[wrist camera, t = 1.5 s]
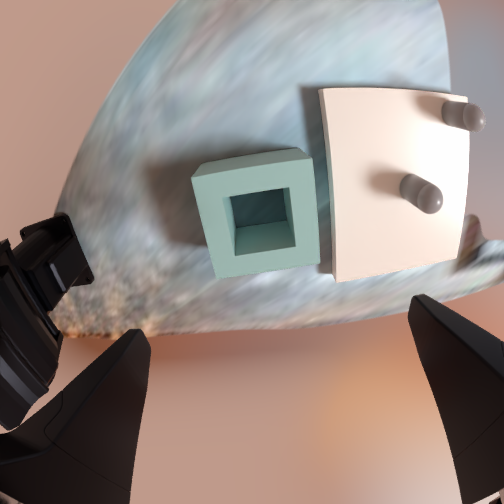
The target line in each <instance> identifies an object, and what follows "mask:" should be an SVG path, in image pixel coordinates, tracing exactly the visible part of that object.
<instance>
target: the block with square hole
mask: <svg viewBox="0 0 504 504" xmlns="http://www.w3.org/2000/svg"><path fill="white" fill-rule="evenodd" d="M191 181H192V185H193V189H194V193H195V197H196V202H197V206H198V210H199V214H200V218H201V222H202V226H203V230H204V234H205V237H206V241H207V245H208V249H209V253H210V257H211V260H212V264H213V268H214V272H215V275H216V279H221V278H228V277H235V276H242V275H249V274H256V273H262V272H269V271H275V270H282V269H288V268H295V267H301V266H307V265H313V264H320V246H319V229H318V215H317V202H316V190H315V179H314V169H313V159H312V158H311V157H310V156H309V155H307V154H306V153H305V152H303V151H302V150H301V149H300V148H293V149H285V150H278V151H270V152H264V153H257V154H251V155H245V156H239V157H233V158H227V159H222V160H217V161H211V162H206V163H202V164H201V165H200V166H199V168H198V169H197V170H196V172H195V173H194V174H193V176H192V177H191ZM280 188H283V194H284V202H285V209H286V218H287V220H286V221H279V222H273V223H266V224H260V225H253V226H247V227H241V228H236V224H235V219H234V214H233V209H232V204H231V199H230V196H235V195H241V194H247V193H254V192H260V191H266V190H273V189H280Z"/></svg>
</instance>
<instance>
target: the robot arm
mask: <svg viewBox="0 0 504 504" xmlns="http://www.w3.org/2000/svg"><path fill="white" fill-rule="evenodd" d="M63 219H64V220H65V222H64V221H63ZM20 235H21V238H22V240H23V241H22V242H21V243H20V244H19V245H18V246H16V247H15V248H14V249H13V250H11V247H10V243H9V240H8V238H7V239H5V240H4V241H1V242H0V425H1V426H3V427H4V428H5V429H6V430H12V429H13V428H15V427H17V426H19V425H20V424H21V422H22V420H23V419H24V417H25V415H26V414H27V412H28V410H29V409H30V408H31V406H32V405H33V404H34V403H35V402H36V401H37V400H38V399H39V398H40V397H42V396H43V395H44V394H46V393H47V392H48V391H49V388H48V387H49V385H50V384H51V382H52V381H53V379H54V377H55V373H56V370H57V368H58V358H59V354H60V350H61V345H62V341H63V337H64V336H63V334H62V333H61V331H60V330H58V329H57V327H56V326H55V324H54V323H53V322H52V320H51V319H50V317H49V313H50V312H51V311H53V309H54V308H55V307H56V305H57V304H58V302H59V301H60V300H61V298H62V297H63V296H64V294H65V293H67V291H68V290H69V289H70V287H73V286H80V285H88V284H91V283H92V282H93V281H94V276H93V274H92V271H91V269H90V267H89V265H88V263H87V260H86V258H85V256H84V253H83V251H82V249H81V246H80V244H79V241H78V239H77V236H76V234H75V231H74V229H73V226H72V223H71V221H70V218H69V216H68V215H67V214H61V215H58V216H55V217H52V218H49V219H46V220H43V221H41V222H38V223H35V224H32V225H29V226H27V227H24V228H23V229H22V230H20ZM87 277H88V278H89V279H88V278H87ZM408 322H409V325H410V328H411V331H412V335H413V337H414V341H415V345H416V347H417V351H418V354H419V358H420V361H421V363H422V366H423V368H424V371H425V374H426V376H427V379H428V381H429V384H430V387H431V390H432V392H433V395H434V398H435V401H436V404H437V407H438V410H439V413H440V416H441V419H442V422H443V425H444V429H445V432H446V435H447V439H448V442H449V446H450V450H451V453H452V457H453V461H454V466H455V470H456V474H457V479H458V484H459V488H460V493H461V499H462V504H473V503H476V502H478V501H480V500H482V499H484V498H486V497H488V496H490V495H492V494H494V493H496V492H498V491H499V494H500V496H499V497H497V498H496V499H494V500H492V501H491V502H490V503H489V504H504V342H503V341H500V339H498V338H497V337H495V336H494V335H492V334H490V333H489V332H487V331H486V330H484V329H482V328H481V327H479V326H478V325H476V324H474V323H473V322H471V321H469V320H468V319H466V318H464V317H463V316H461V315H459V314H458V313H456V312H455V311H453V310H451V309H449V308H448V307H446V306H444V305H442V304H441V303H439V302H437V301H436V300H434V299H432V298H431V297H429V296H427V295H425V294H419V295H415V296H413V297H412V299H411V303H410V308H409V312H408ZM150 356H151V347H150V344H149V342H148V341H147V338H146V337H145V335H144V333H143V331H142V330H141V329H129V330H128V331H127V332H126V333H125V334H123V335H122V336H121V337H120V338H119V339H118V340H117V341H116V342H114V343H113V344H112V345H111V346H110V347H109V348H108V349H107V350H106V351H104V352H103V353H102V354H101V355H100V356H99V357H98V358H97V359H96V360H94V361H93V362H92V363H91V364H90V365H89V366H88V367H87V368H86V369H85V370H83V371H82V372H81V373H80V374H79V375H78V376H77V377H76V378H75V379H74V380H73V381H71V382H70V383H69V384H68V385H67V386H66V387H65V388H64V389H63V390H62V391H60V392H59V393H58V394H57V395H56V396H55V397H54V398H53V399H52V400H51V401H50V402H48V403H47V404H46V405H45V406H44V407H42V408H41V409H40V410H39V411H38V412H36V413H35V414H34V415H33V416H31V417H30V418H29V419H27V420H26V421H25V422H24V423H22V424H21V425H20V426H19V427H17V428H16V429H14V430H13V431H11V432H8V433H4V434H0V504H129V503H130V491H131V484H132V476H133V468H134V461H135V455H136V448H137V442H138V435H139V430H140V424H141V419H142V413H143V408H144V403H145V398H146V392H147V386H148V375H149V366H150Z"/></svg>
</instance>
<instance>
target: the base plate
mask: <svg viewBox="0 0 504 504" xmlns="http://www.w3.org/2000/svg"><path fill="white" fill-rule="evenodd" d="M318 93H319V100H320V107H321V114H322V122H323V131H324V139H325V149H326V159H327V170H328V183H329V197H330V214H331V236H332V275H333V277H334V279H335V281H336V283H338V282H344V281H349V280H355V279H360V278H365V277H370V276H375V275H381V274H386V273H391V272H395V271H400V270H405V269H410V268H415V267H419V266H424V265H428V264H433V263H437V262H442V261H446V260H450V259H455V258H457V253H458V248H459V243H460V237H461V232H462V225H463V218H464V211H465V202H466V193H467V181H468V165H469V163H468V162H469V131H471V132H479V131H481V130H482V129H483V127H484V126H485V122H486V119H485V115H484V113H483V111H482V109H480V107H479V106H477V105H475V104H472V103H468V100H467V97H464V96H458V95H452V94H445V93H437V92H429V91H419V90H407V89H391V88H325V89H319V90H318Z"/></svg>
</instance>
